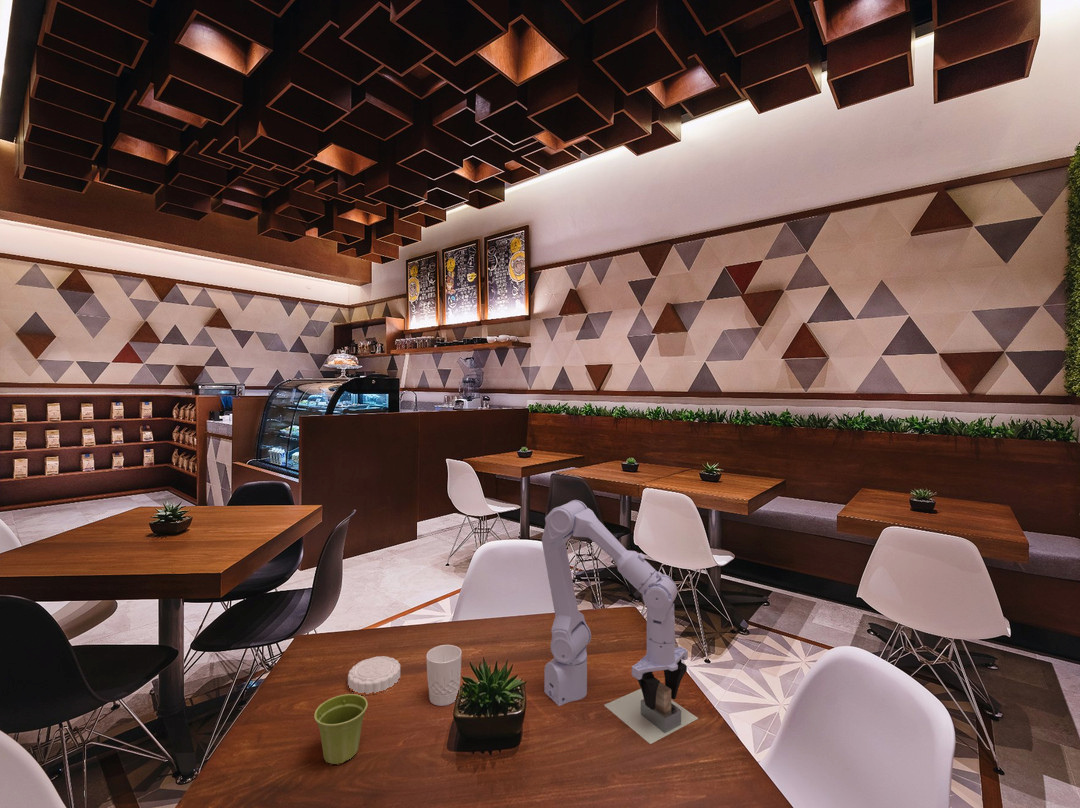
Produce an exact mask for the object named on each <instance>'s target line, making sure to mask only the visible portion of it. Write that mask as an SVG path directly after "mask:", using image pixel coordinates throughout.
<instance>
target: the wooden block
mask: <svg viewBox="0 0 1080 808" xmlns="http://www.w3.org/2000/svg"><path fill="white" fill-rule="evenodd" d="M671 700H672V698H671V689H670V688H668V687H667V686H665V683H662V682H661V681H660V683H659V685H658V688H657V693H656V705H655V708H656V709H657V710H659V711H660V712H661V713H663V714H664V715H665V714H667V713H669V712H671Z"/></svg>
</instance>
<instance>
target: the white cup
mask: <svg viewBox="0 0 1080 808" xmlns="http://www.w3.org/2000/svg"><path fill="white" fill-rule="evenodd" d="M462 653H463V652H462V649H461V648H460V647H459V646H456V645H453V644H441V645H437V646H434V647H432V648H430V649H429V650H428V651H427V653H426V655H425V656H426V674H427V676H426V677H427V687H428V699H429V702H430V703H431V704H433V705H435V706H438V707H442V706H443V707H444V706H449V705H451V704H454V703H455V702H456V701H457V700H456V696H457V693H458V690H459V691H460V686H461V675H462V672H461V671H462ZM455 700H456V701H455Z"/></svg>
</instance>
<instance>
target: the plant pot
mask: <svg viewBox="0 0 1080 808" xmlns="http://www.w3.org/2000/svg"><path fill="white" fill-rule="evenodd" d="M367 708H368V700H367V698H366V697H365V696H361V695H358V694H353V693H345V694H341V695H336V696H334V697H330V698H329V699H327V700H325V701H324V702H323V703H321V704H319V705H318V707H317V708H316V710H315V712H314V716H313V717H314V720H315V722H316V724H317V727H318V728H319V735H320V741H321V747H322V755H323V759H324V760H325V762H326V763H327V762H328V763H332V764H337V765H339V764H338V763H342V764H343V763H345V762H346V761H350V760H352V759H353V758H354V757H355V756H356V755H357V754H356V752H357V751H359V748H360V746H359V745H360V739H361V731H362V727H363V726H362V725H363V720H364V716H365V714H366V713H365V712H366V711H367ZM357 753H358V752H357ZM355 754H356V755H355ZM354 755H355V756H354ZM353 756H354V757H353ZM352 757H353V758H352ZM351 758H352V759H351ZM349 759H350V760H349ZM328 763H327V764H328ZM332 764H331V765H332Z"/></svg>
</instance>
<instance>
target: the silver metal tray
mask: <svg viewBox="0 0 1080 808" xmlns="http://www.w3.org/2000/svg"><path fill="white" fill-rule="evenodd" d="M641 715H642V716H643V717H645V718H646V719H647V720H648V721H650V722H651V723H652V724H653V725H655V726H656V727H657V728H659V729H660V730H661V731H662V732H664V733H666V732H668V731H670V730H672V729H674V728H676V727H678V726H680V725H681V710H680V709H679V708H677V707H676V706H675V705H673V704H672V703H671V712H669V713H667V714H665V715H664V714H663V713H661V712H660V711H659V710H657V709H656V708H655V709H653V710H651V709H650V708H649V707H647V706H646V705H645V701H644V699H643V700H641Z"/></svg>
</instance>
